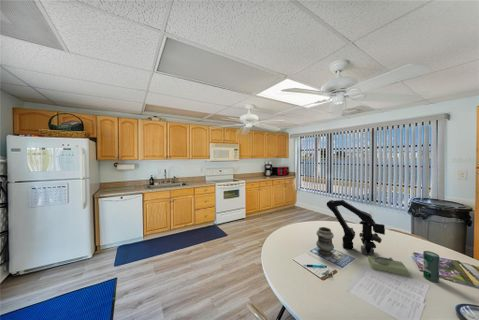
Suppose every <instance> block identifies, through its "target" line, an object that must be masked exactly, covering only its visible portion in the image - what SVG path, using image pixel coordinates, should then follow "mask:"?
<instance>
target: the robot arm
mask: <svg viewBox="0 0 479 320" xmlns="http://www.w3.org/2000/svg"><path fill="white" fill-rule="evenodd" d="M326 207H327V208H328V210H330V211H331V212H332V214H334V216H335V218H336V220H337V221H338V223H339V225H340V226H341V228H342V229H343V236H342V248H343V249H345V250H351V251H354V242H353V240H354V239H355V237H356V231H355V230H354V228H353V227H350V226H349V225H348V223H347V222H346V220H345V219H344V217H343V216H342V214H341V212H340V210H339V208H338V207H343V208H345V209H346V210H348V211H349V212H351V213H353V214H354V215H356V216H358V218H359V219H360V221H359V224H360V225H362V230H361V232H360V233H359V234H358V235H359V238H360V240H361V242H362V246H365V249H366V251H367V253H369V252H370V250H371V248H373V249H376V248H377V245H376V243H375V242H377V243H379V244H381V243H382V240H383V239H382V237H380V236H379V235H378V234H380V235H382V236H383V235H386V227H385V224H383V223H382V224H381V223H376V221H375V220H374V219H373V216H372V215H371V214H370V213H368V212H366V211H363V210H361V209H359V208H357V207H355V206H354V205H352V204H351V203H348V202H347V201H345V199H341V200H340V199H339V200H337V199H336V200H334V199H329V201H327V202H326ZM373 232H374V233H373Z"/></svg>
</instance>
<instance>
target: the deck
mask: <svg viewBox="0 0 479 320" xmlns="http://www.w3.org/2000/svg"><path fill="white" fill-rule="evenodd" d="M367 261H368V263H369V265H370V267H371V269H372V268H373V269H374V270H378V271H382V270H383V271H382V272H387V271H388V273H393V274H397V275H402V276H407V277H409V269H408V268H407V267H406V265H405V264H404V263H403V262H402V261H399V260H394V259H393V258H392V257H383V256H378V255H377V256H375V254H374V255H373V254H371V255H368V256H367Z"/></svg>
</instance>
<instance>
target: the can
mask: <svg viewBox="0 0 479 320" xmlns="http://www.w3.org/2000/svg"><path fill="white" fill-rule="evenodd" d="M422 257H423V258H422V259H423V261H422V263H423V264H422V269H423V271H422V273H423V274H422V275H423V278H424V279H426V280H427V281H428V282H429V281H430V282H433V283H440V255H439V254H438V253H435V252H433V251H429V250H424V251H423V254H422Z"/></svg>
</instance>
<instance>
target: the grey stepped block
mask: <svg viewBox="0 0 479 320" xmlns="http://www.w3.org/2000/svg"><path fill="white" fill-rule="evenodd" d="M360 252H361V253H362V254H365V255H368V256H371V254H373V255H374V256H375V248H371V250H370V252H369V253H367V251H366V249H365V246H364V245H360Z"/></svg>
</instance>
